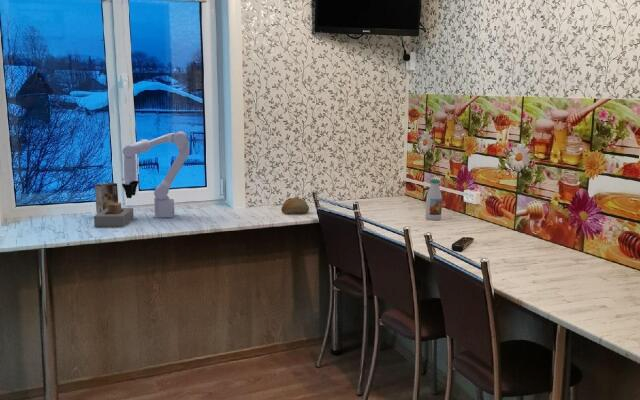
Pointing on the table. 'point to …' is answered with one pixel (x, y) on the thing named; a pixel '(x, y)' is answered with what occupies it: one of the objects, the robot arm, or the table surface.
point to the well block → (113, 218)
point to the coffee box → (105, 195)
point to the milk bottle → (434, 201)
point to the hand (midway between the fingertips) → (131, 196)
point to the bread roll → (295, 206)
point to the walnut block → (114, 208)
